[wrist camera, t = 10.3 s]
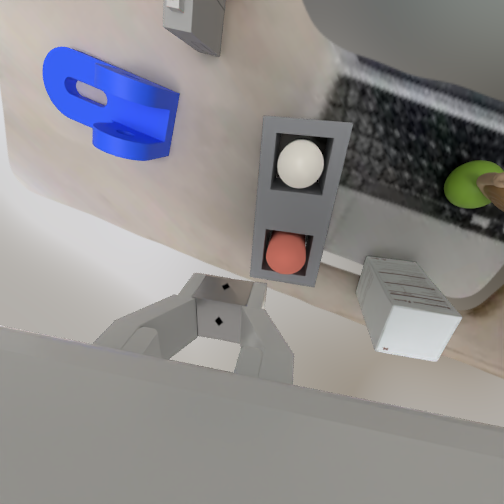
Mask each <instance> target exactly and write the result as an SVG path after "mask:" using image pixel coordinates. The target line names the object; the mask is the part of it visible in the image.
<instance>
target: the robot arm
mask: <svg viewBox="0 0 504 504" xmlns="http://www.w3.org/2000/svg"><path fill="white" fill-rule="evenodd" d="M266 291H267V283H261V282H251V281H243V280H235V279H230V278H225V277H218V276H213V275H207V274H201V273H194V274H193V275H192V277H191V278H190V279H189V281H188V282H187V283H186V285H185V286H184V288H183V289H182V290H181V292H180V293H179V294H178V295H172V296H170V297H168V298H165V299H163V300H161V301H159V302H156V303H154V304H152V305H149V306H147V307H145V308H142V309H140V310H138V311H136V312H133V313H131V314H129V315H126V316H124V317H122V318H120V319H117V320H115V321H114V322H113V323H112V324H111V325H110V326H109V327H108V328H107V329H106V331H104V332H103V333H102V335H101V336H100V337H99V338H98V339H97V340H96V341H95V342H94V343H93V344H90V343H85V342H80V341H75V340H70V339H65V338H59V337H55V336H50V335H45V334H40V333H35V332H30V331H25V330H20V329H15V328H10V327H6V326H1V325H0V504H504V427H500V426H495V425H490V424H485V423H480V422H475V421H470V420H465V419H460V418H455V417H450V416H445V415H441V414H436V413H431V412H426V411H421V410H416V409H410V408H406V407H401V406H396V405H391V404H386V403H381V402H376V401H371V400H366V399H362V398H357V397H352V396H347V395H342V394H336V393H332V392H327V391H321V390H316V389H312V388H307V387H301V386H297V385H293V368H294V353H293V352H292V350H291V349H290V347H289V346H288V344H287V343H286V342H285V340H284V338H283V336H282V335H281V333H280V332H279V330H278V329H277V327H276V326H275V324H274V323H273V321H272V320H271V318H270V316H269V315H268V313H267V312H266V310H265V300H266ZM197 336H201V337H207V338H214V339H220V340H225V341H229V342H234V343H239V344H240V346H241V350H240V353H239V357H238V360H237V364H236V367H235V370H234V373H233V372H228V371H223V370H218V369H213V368H209V367H204V366H199V365H193V364H188V363H183V362H179V361H174V360H169V359H170V358H171V357H172V356H174V355H175V354H176V353H177V352H179V351H180V350H181V349H183V348H184V347H185V346H187V345H188V344H189V343H191V342H192V341H193V340H195V339H196V338H197Z"/></svg>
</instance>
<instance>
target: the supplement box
mask: <svg viewBox="0 0 504 504" xmlns="http://www.w3.org/2000/svg"><path fill="white" fill-rule="evenodd" d="M356 295H357V298H358V301H359V304H360V307H361V310H362V313H363V316H364V319H365V322H366V325H367V328H368V332H369V334H370V338H371V341H372V344H373V347H374V350H375V351H378V352H382V353H388V354H393V355H400V356H405V357H411V358H417V359H423V360H429V361H438V359H439V357H440V355H441V354H442V352H443V350H444V348H445V347H446V345H447V343H448V341H449V340H450V338H451V336H452V335H453V333H454V331H455V329H456V328H457V326H458V324H459V323H460V321H461V319H462V316H461V315H460V314H459V313H458V311H457V310H456V309H455V308H454V307H453V305H451V303H450V302H449V301H448V300H447V298H446V297H445V296H444V295H443V294H442V292H441V291H440V290H439V289H438V288H437V287H436V285H435V284H434V283H433V282H432V281H431V279H430V278H429V277H428V276H427V275H426V274H425V272H424V271H423V270H422V269H421V268H420V266H419V265H418V264H417V263H416V262H411V261H403V260H395V259H388V258H380V257H372V256H367V257H366V260H365V263H364V266H363V270H362V273H361V276H360V279H359V283H358V286H357V290H356Z"/></svg>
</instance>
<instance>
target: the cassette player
mask: <svg viewBox="0 0 504 504" xmlns="http://www.w3.org/2000/svg"><path fill="white" fill-rule="evenodd" d="M225 3H226V0H164V8H163V27H164V28H166V29H167V30H168V31H170V32H171V33H173V34H174V35H175V36H177V37H178V38H180V39H181V40H183V41H184V42H185V43H187V44H188V45H190V46H191V47H192V48H194V49H195V50H197V51H198V52H201V53H206V54H210V55H215V56H220V49H221V40H222V31H223V21H224V12H225Z"/></svg>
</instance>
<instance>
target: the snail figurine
mask: <svg viewBox="0 0 504 504" xmlns="http://www.w3.org/2000/svg"><path fill="white" fill-rule="evenodd" d="M444 193H445V196H446V197H447V199H448V200H449V201H450V202H451V203H452V204H454V205H456V206H458V207H462V208H478V207H482V206H485V205H487V204H489V203H491V202H492V203H493V204H494V205H495V206H496V207H498V208H499V209H500V210H502V211H504V171H503V170H502V169H501V168H500V167H499V166H498V165H497V164H495V163H492V162H489V161H482V160H480V161H471V162H468V163H465V164H463V165H461V166H459V167H457V168H456V169H455V170H453V171H452V172H451V173H450V175H449V176H448V177H447V179H446V181H445V184H444Z"/></svg>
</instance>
